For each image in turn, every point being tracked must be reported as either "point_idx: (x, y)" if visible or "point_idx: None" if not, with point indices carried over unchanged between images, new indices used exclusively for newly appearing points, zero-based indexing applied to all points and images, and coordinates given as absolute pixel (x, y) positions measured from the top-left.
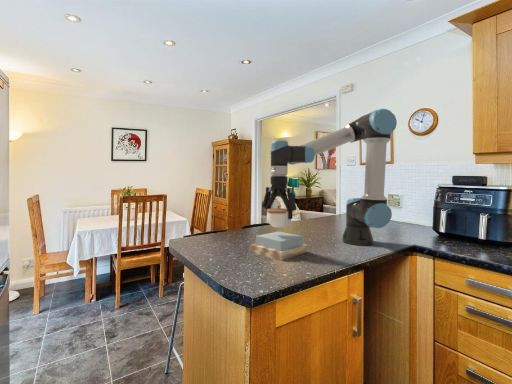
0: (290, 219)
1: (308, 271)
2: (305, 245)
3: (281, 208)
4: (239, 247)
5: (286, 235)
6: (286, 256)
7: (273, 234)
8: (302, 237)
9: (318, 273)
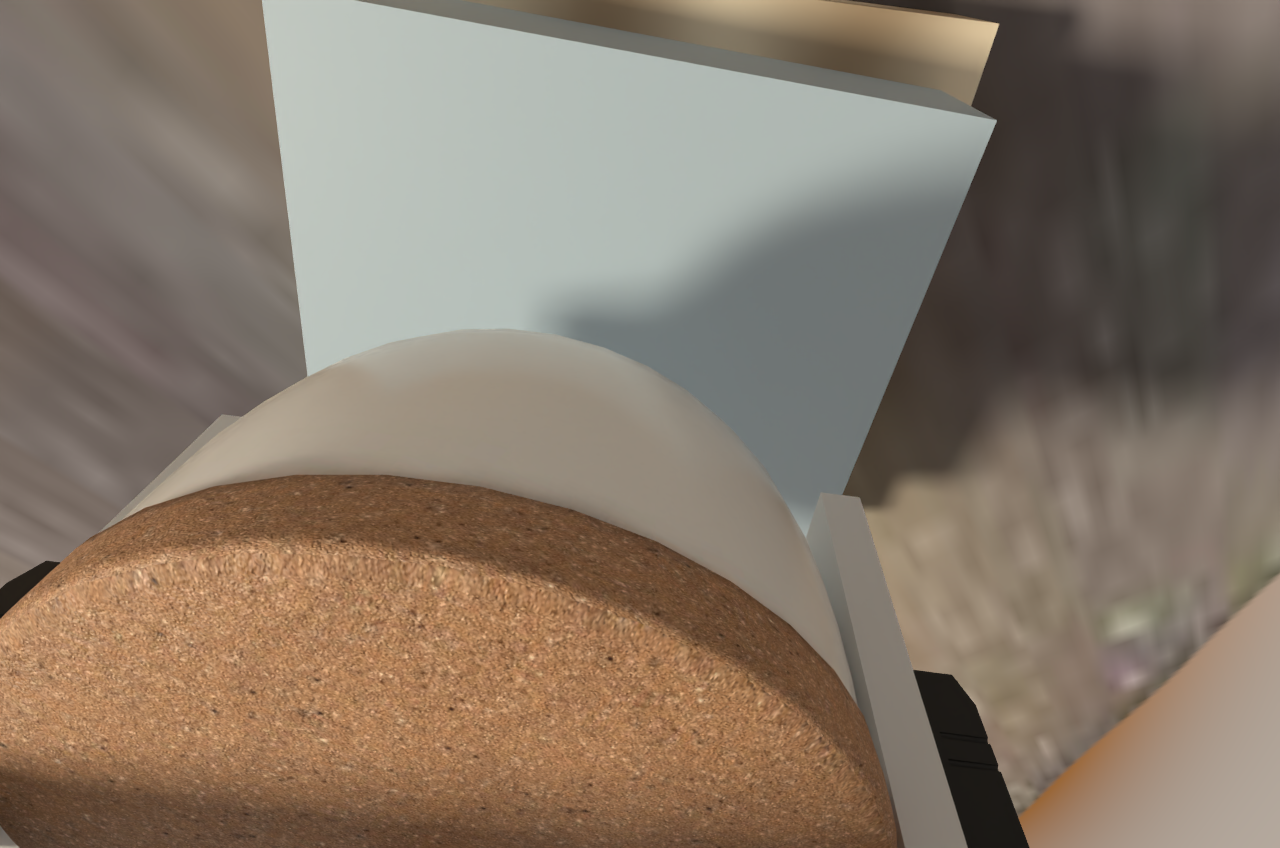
0: (886, 636)
1: (1124, 600)
2: (984, 56)
3: (295, 717)
4: (137, 381)
5: (666, 263)
6: None
7: (431, 328)
8: (982, 131)
9: (1215, 598)
